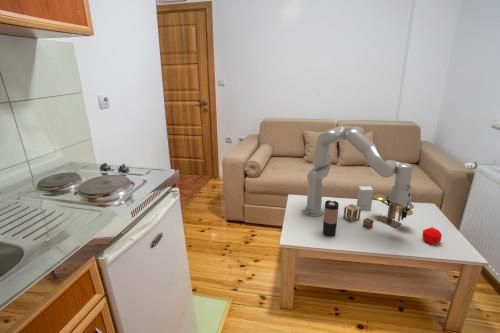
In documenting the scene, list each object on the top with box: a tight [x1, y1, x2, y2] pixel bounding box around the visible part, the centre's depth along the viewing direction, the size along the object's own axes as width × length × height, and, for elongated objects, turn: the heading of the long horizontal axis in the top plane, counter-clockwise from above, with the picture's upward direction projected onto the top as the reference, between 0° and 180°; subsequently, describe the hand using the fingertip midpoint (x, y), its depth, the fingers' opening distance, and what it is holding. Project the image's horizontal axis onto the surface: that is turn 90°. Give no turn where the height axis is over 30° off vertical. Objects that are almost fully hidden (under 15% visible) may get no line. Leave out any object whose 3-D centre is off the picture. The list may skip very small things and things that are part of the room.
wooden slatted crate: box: [343, 203, 362, 223], centre depth 182 cm, size 7×7×8 cm
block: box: [362, 217, 374, 230], centre depth 173 cm, size 4×4×5 cm
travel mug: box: [322, 200, 339, 238], centre depth 164 cm, size 8×8×20 cm
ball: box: [421, 226, 443, 245], centre depth 158 cm, size 8×8×8 cm
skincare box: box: [356, 185, 374, 211], centre depth 195 cm, size 8×7×16 cm
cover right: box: [386, 203, 409, 222], centre depth 159 cm, size 7×7×8 cm
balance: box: [372, 193, 414, 229], centre depth 177 cm, size 9×25×15 cm, turn 33°
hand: (397, 214), depth 160 cm, fingers closed on cover right, 7 cm apart
